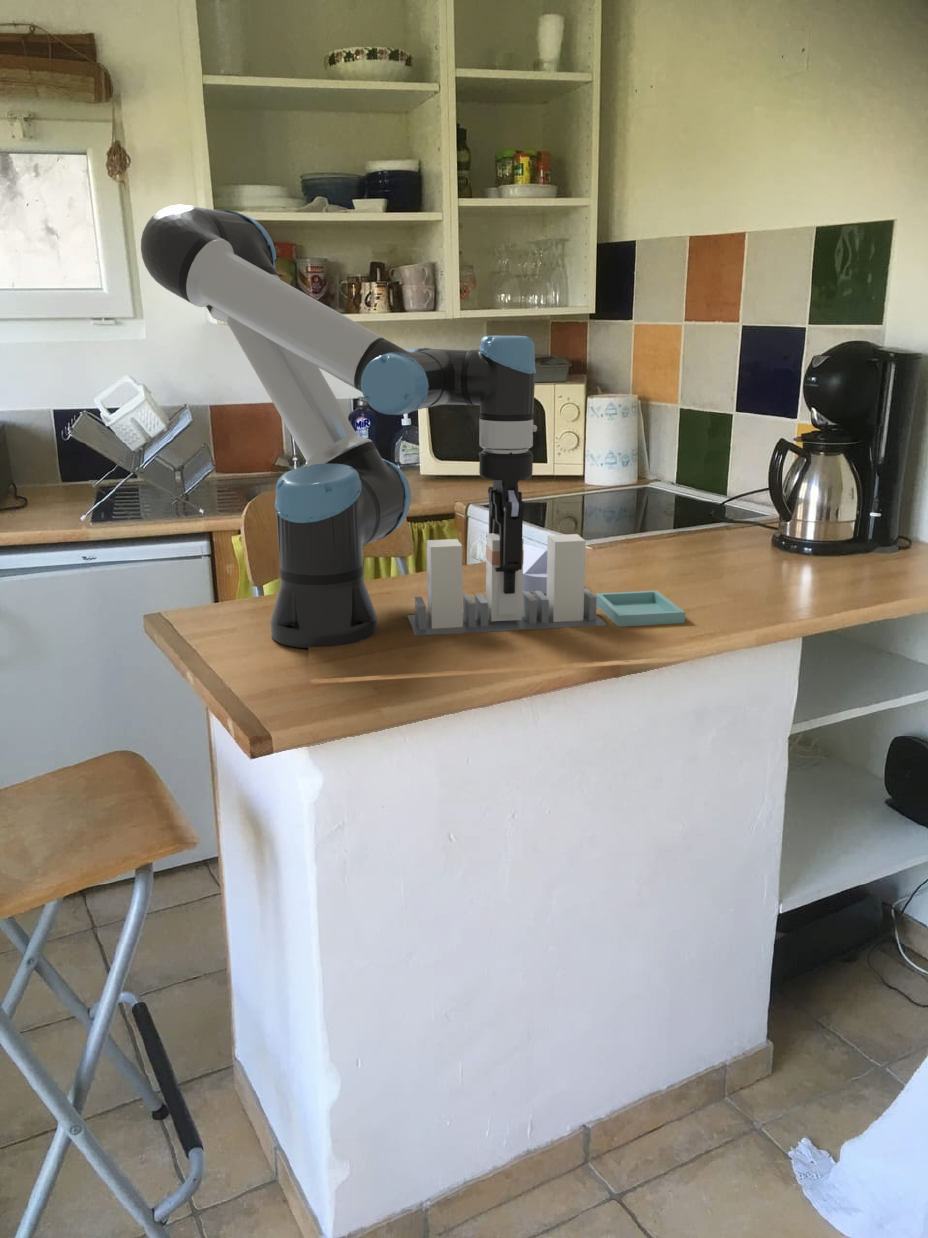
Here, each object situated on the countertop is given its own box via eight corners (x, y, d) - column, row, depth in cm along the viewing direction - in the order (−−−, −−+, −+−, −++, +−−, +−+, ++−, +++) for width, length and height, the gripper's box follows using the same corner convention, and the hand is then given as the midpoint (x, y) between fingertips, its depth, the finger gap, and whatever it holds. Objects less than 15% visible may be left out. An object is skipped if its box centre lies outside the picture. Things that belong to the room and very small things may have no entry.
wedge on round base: (493, 582, 173) (540, 600, 162) (493, 544, 171) (541, 559, 160) (535, 575, 177) (584, 591, 167) (536, 537, 175) (585, 551, 165)
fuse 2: (553, 621, 149) (555, 541, 146) (546, 613, 154) (547, 535, 150) (583, 620, 150) (585, 540, 146) (575, 611, 154) (577, 534, 151)
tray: (618, 629, 147) (619, 615, 147) (594, 606, 159) (595, 593, 158) (684, 625, 149) (685, 612, 148) (656, 603, 160) (657, 590, 160)
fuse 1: (431, 628, 146) (430, 547, 143) (427, 619, 151) (426, 540, 147) (462, 626, 147) (462, 545, 144) (457, 617, 151) (457, 539, 148)
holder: (415, 638, 144) (414, 611, 142) (407, 618, 153) (406, 592, 152) (606, 628, 148) (607, 601, 147) (587, 608, 157) (588, 583, 156)
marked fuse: (491, 621, 148) (492, 540, 144) (485, 612, 152) (486, 533, 149) (522, 619, 148) (523, 539, 145) (515, 610, 153) (517, 532, 149)
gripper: (547, 457, 135) (542, 625, 142) (518, 440, 152) (515, 591, 159) (491, 459, 134) (489, 627, 141) (469, 441, 151) (468, 593, 158)
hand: (503, 608), depth 150 cm, fingers closed on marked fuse, 4 cm apart
